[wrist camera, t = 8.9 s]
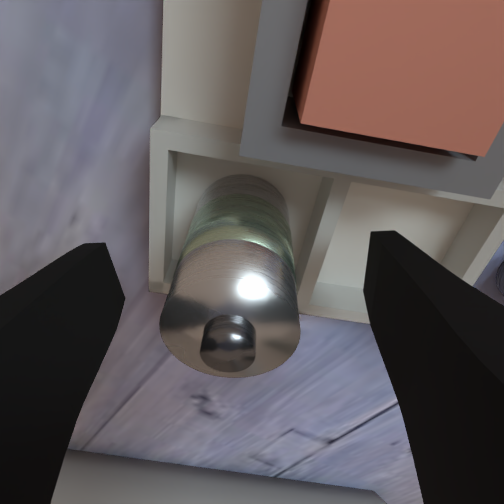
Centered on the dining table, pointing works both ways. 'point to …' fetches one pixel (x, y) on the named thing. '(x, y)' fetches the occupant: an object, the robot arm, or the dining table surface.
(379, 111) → the pad
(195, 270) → the cell
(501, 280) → the cell
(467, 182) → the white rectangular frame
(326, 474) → the dining table surface
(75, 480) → the tube
